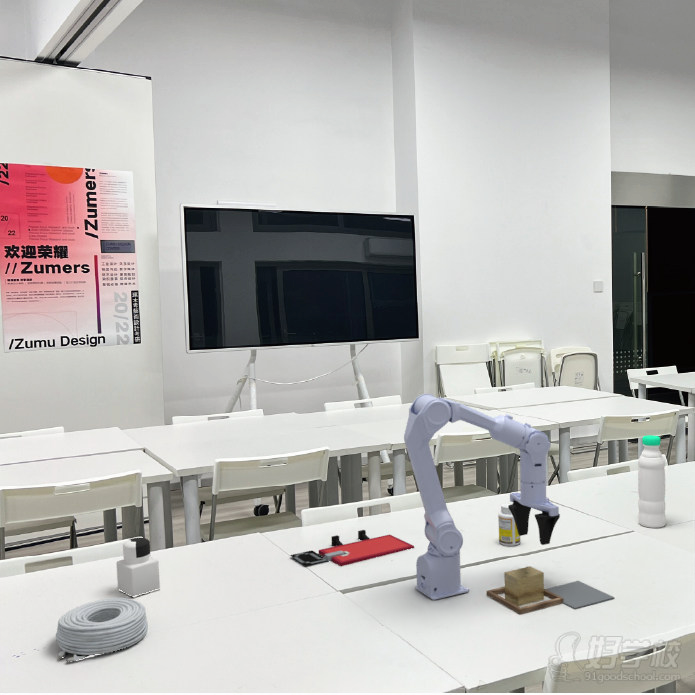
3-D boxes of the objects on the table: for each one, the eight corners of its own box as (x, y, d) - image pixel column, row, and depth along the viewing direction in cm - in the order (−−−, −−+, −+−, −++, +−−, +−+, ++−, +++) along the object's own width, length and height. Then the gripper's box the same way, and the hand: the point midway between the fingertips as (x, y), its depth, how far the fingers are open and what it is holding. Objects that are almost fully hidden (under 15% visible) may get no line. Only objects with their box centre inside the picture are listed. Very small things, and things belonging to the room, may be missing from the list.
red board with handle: (286, 556, 198) (314, 574, 185) (286, 546, 197) (314, 563, 185) (382, 535, 213) (414, 551, 200) (382, 525, 213) (414, 540, 200)
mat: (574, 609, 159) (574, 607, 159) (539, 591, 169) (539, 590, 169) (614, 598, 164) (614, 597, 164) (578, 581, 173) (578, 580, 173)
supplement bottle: (516, 539, 205) (515, 501, 204) (523, 545, 199) (522, 507, 198) (496, 540, 204) (495, 503, 203) (502, 547, 198) (501, 508, 198)
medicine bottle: (144, 582, 183) (142, 533, 182) (160, 589, 178) (157, 539, 177) (117, 591, 178) (114, 540, 177) (132, 599, 173) (129, 547, 172)
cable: (58, 668, 141) (56, 637, 141) (54, 631, 157) (52, 603, 157) (154, 648, 148) (152, 618, 148) (141, 615, 164) (139, 587, 164)
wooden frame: (520, 614, 157) (519, 609, 157) (486, 595, 168) (486, 590, 168) (563, 602, 162) (563, 598, 162) (528, 584, 173) (528, 580, 173)
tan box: (518, 606, 161) (517, 579, 161) (504, 599, 165) (504, 572, 165) (544, 599, 164) (543, 572, 164) (530, 592, 169) (530, 566, 168)
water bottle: (667, 522, 214) (667, 434, 212) (663, 529, 208) (662, 439, 206) (641, 519, 218) (640, 433, 216) (635, 526, 212) (635, 437, 210)
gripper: (569, 485, 169) (569, 545, 170) (526, 472, 182) (526, 528, 183) (544, 489, 166) (544, 550, 167) (502, 476, 179) (503, 532, 180)
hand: (533, 539), depth 175 cm, fingers open, 7 cm apart
